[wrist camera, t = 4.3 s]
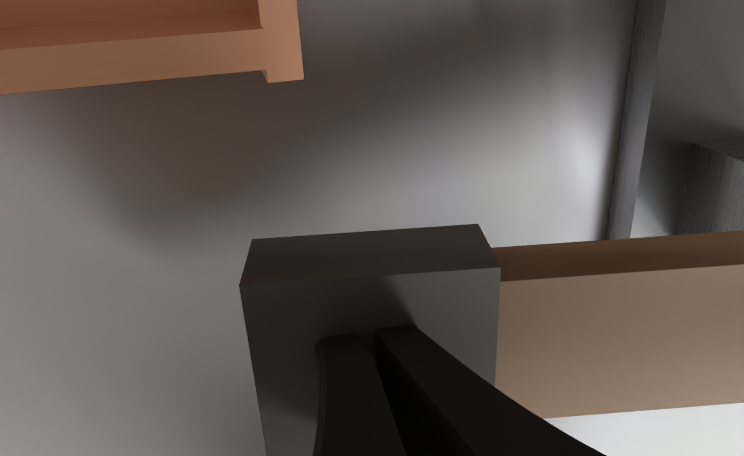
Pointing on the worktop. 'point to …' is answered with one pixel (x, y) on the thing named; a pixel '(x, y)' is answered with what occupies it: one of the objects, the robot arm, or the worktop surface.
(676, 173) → the stand
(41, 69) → the open box
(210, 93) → the worktop surface
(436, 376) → the robot arm
